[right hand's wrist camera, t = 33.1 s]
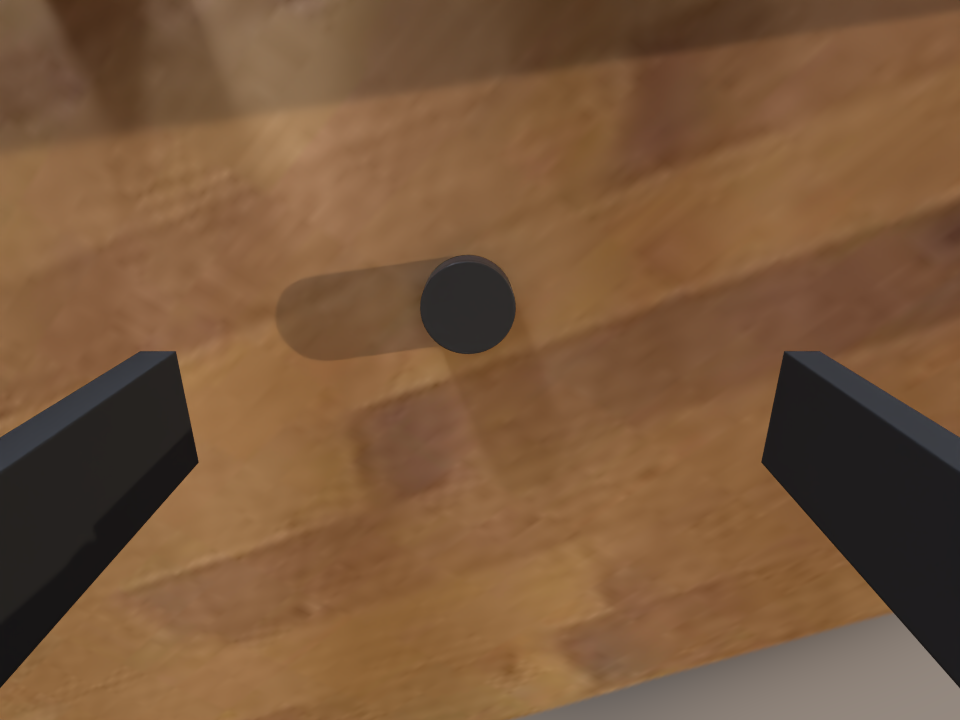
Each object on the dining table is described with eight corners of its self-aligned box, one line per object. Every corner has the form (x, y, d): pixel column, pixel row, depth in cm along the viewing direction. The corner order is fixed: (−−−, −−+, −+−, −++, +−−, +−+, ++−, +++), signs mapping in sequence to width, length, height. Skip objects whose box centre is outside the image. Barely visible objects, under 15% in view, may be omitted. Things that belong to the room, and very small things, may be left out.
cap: (525, 323, 24) (529, 334, 22) (444, 354, 24) (443, 367, 23) (493, 240, 23) (494, 246, 21) (408, 275, 23) (404, 283, 22)
